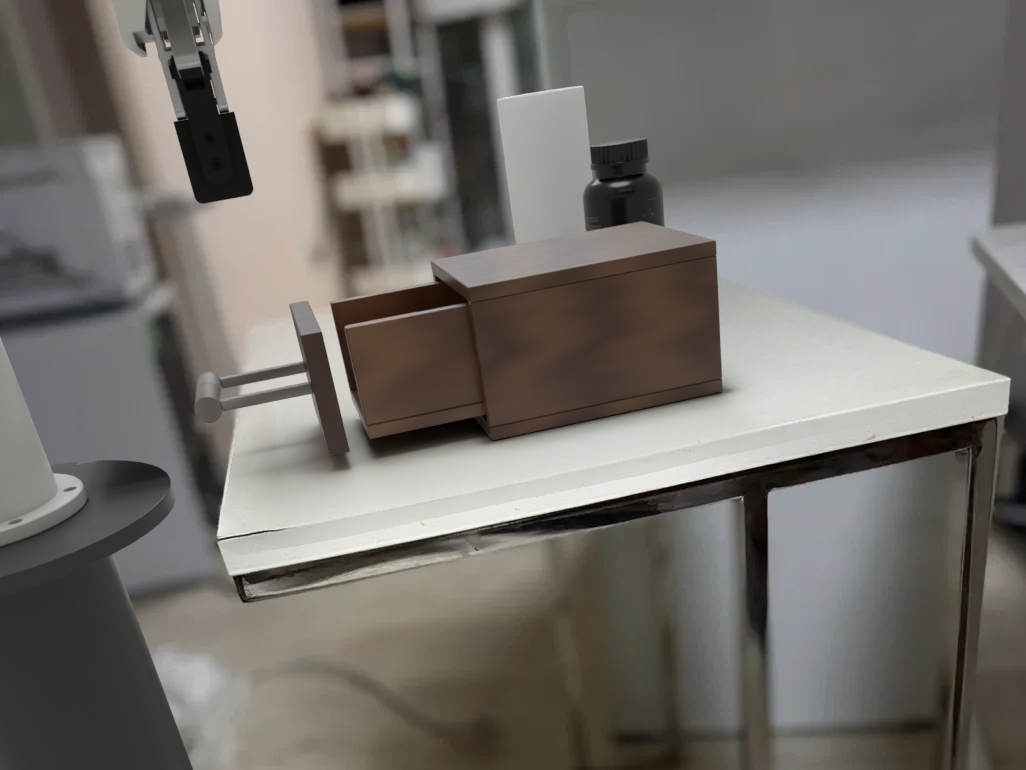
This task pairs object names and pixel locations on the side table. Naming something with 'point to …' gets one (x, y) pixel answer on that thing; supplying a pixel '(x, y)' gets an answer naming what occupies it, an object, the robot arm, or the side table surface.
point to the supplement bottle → (622, 186)
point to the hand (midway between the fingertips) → (225, 197)
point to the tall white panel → (546, 161)
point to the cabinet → (590, 324)
